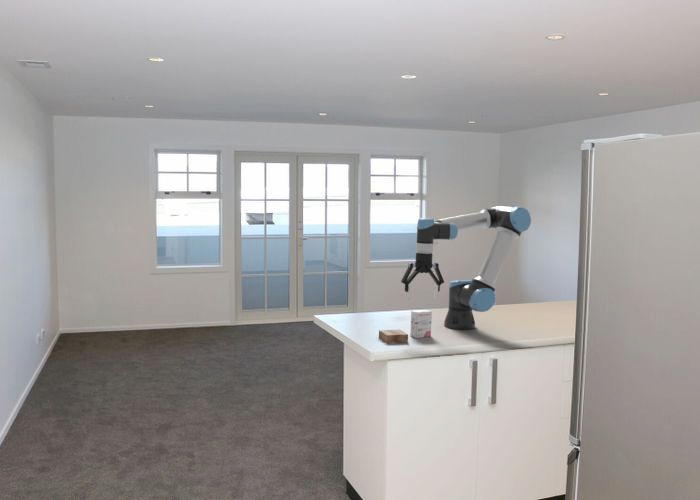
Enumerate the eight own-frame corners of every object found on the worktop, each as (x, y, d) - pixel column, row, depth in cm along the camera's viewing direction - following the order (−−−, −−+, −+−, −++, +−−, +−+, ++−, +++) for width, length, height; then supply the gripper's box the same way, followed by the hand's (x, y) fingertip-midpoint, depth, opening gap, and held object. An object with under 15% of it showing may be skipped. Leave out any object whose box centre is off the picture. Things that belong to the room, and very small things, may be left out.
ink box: (424, 334, 314) (425, 309, 313) (431, 336, 310) (432, 311, 308) (409, 336, 309) (410, 310, 308) (416, 338, 305) (417, 312, 304)
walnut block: (399, 338, 306) (399, 329, 306) (407, 343, 296) (408, 334, 296) (378, 339, 303) (379, 330, 303) (386, 344, 293) (386, 335, 293)
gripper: (445, 251, 313) (443, 297, 315) (395, 251, 305) (393, 297, 307) (453, 253, 306) (450, 299, 308) (401, 253, 298) (399, 300, 300)
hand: (421, 298), depth 308 cm, fingers open, 13 cm apart
